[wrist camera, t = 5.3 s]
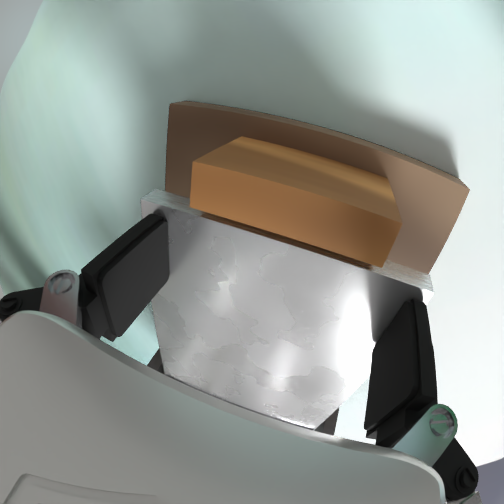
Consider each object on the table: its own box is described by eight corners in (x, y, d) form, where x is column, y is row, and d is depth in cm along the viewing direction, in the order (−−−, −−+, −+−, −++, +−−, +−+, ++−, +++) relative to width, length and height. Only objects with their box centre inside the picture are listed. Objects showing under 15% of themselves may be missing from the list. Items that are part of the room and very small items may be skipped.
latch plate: (333, 392, 22) (319, 453, 17) (179, 338, 24) (146, 388, 20) (459, 178, 11) (511, 237, 6) (185, 100, 13) (104, 119, 9)
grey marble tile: (312, 419, 18) (307, 438, 17) (174, 369, 20) (164, 385, 19) (428, 270, 9) (435, 298, 8) (159, 186, 11) (135, 202, 10)
